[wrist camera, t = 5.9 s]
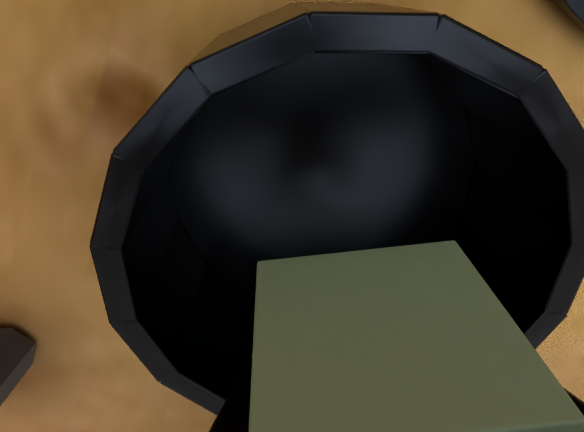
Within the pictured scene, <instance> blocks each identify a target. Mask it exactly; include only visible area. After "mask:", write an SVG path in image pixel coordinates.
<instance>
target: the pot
mask: <svg viewBox="0 0 584 432" xmlns="http://www.w3.org/2000/svg"><path fill="white" fill-rule="evenodd" d="M451 240H454V241H456V243H457V244H458V245H459V247H460V248H461V249H462V251H463V252H464V254H465V255H466V256H467V258H468V259H469V260H470V262H471V263H472V264H473V266H474V267H475V269H476V270H477V271H478V273H479V274H480V275H481V277H482V278H483V279H484V281H485V282H486V283H487V285H488V286H489V288H490V289H491V290H492V292H493V293H494V294H495V296H496V297H497V298H498V300H499V301H500V303H501V304H502V305H503V307H504V308H505V309H506V311H507V312H508V313H509V315H510V316H511V318H512V319H513V320H514V322H515V323H516V324H517V326H518V327H519V328H520V330H521V331H522V333H523V334H524V335H525V337H526V338H527V339H528V341H529V342H530V343H531V345H532V346H533V347H534V349H536V348H537V347H538V346H539V345H540V344H541V343H542V342H543V341H544V340H545V339H546V337H547V336H548V335H549V334H550V333H551V332H552V331H553V330H554V329H555V328H556V327H557V326H558V325H559V324H560V323H561V322H562V321H563V320H564V319H565V318H566V317H567V313H568V312H569V309H570V307H571V305H572V303H573V300H574V298H575V296H576V293H577V291H578V289H579V287H580V284H581V282H582V280H583V277H584V129H583V127H582V125H581V124H580V122H579V121H578V119H577V117H576V116H575V114H574V113H573V111H572V109H571V108H570V106H569V105H568V103H567V101H566V100H565V98H564V97H563V95H562V93H561V92H560V90H559V89H558V87H557V85H556V84H555V82H554V81H553V79H552V77H551V76H550V74H549V73H548V71H547V70H546V69H544V68H543V67H542V66H541V65H540V64H538V63H536V62H534V61H532V60H530V59H528V58H526V57H525V56H523V55H521V54H519V53H517V52H515V51H513V50H511V49H509V48H507V47H505V46H504V45H502V44H500V43H498V42H496V41H494V40H492V39H490V38H488V37H486V36H485V35H483V34H481V33H479V32H477V31H475V30H473V29H471V28H469V27H467V26H466V25H464V24H462V23H460V22H458V21H456V20H454V19H452V18H450V17H448V16H447V15H445V14H439V13H437V12H430V11H423V10H416V9H410V8H403V7H396V6H389V5H382V4H375V3H336V2H329V3H320V2H296V3H291V4H288V5H286V6H284V7H282V8H280V9H277V10H275V11H273V12H271V13H268V14H266V15H264V16H261V17H258V18H256V19H254V20H252V21H250V22H248V23H246V24H244V25H242V26H239V27H237V28H235V29H233V30H230V31H228V32H226V33H224V34H221V35H220V36H219V37H217V38H216V39H215V40H214V41H212V42H211V43H210V44H209V45H208V46H207V47H206V48H205V49H204V50H203V51H202V52H201V53H199V54H198V55H197V56H196V57H195V58H194V59H193V60H192V61H191V62H190V63H189V64H187V65H186V66H185V67H184V69H183V70H182V71H181V72H180V73H179V74H178V75H177V77H176V78H175V79H174V80H173V81H172V82H171V84H170V85H169V86H168V87H167V88H166V89H165V90H164V92H163V93H162V94H161V95H160V96H159V97H158V99H157V100H156V101H155V102H154V103H153V104H152V105H151V107H150V108H149V109H148V110H147V111H146V112H145V114H144V115H143V116H142V117H141V118H140V119H139V120H138V122H137V123H136V124H135V125H134V126H133V127H132V129H131V130H130V131H129V132H128V133H127V134H126V136H125V137H124V138H123V139H122V140H121V141H120V142H119V144H118V145H117V146H116V147H115V148H114V149H113V153H112V154H111V157H110V161H109V165H108V170H107V174H106V178H105V182H104V186H103V190H102V195H101V199H100V203H99V207H98V211H97V215H96V220H95V224H94V228H93V232H92V236H91V240H90V250H91V254H92V258H93V261H94V265H95V269H96V273H97V277H98V281H99V285H100V288H101V292H102V296H103V300H104V304H105V308H106V311H107V315H108V319H109V323H110V324H111V325H112V327H113V328H114V329H115V331H116V332H117V333H118V334H119V335H120V337H121V338H122V339H123V340H124V342H125V343H126V344H127V345H128V346H129V348H130V349H131V350H132V351H133V352H134V354H135V355H136V356H137V357H138V358H139V360H140V361H141V362H142V363H143V364H144V366H145V367H146V368H147V369H148V370H149V372H150V373H151V374H152V375H153V376H154V378H155V379H156V380H157V381H158V382H160V383H161V384H162V385H164V386H166V387H168V388H169V389H171V390H173V391H175V392H176V393H178V394H180V395H182V396H184V397H185V398H187V399H189V400H191V401H192V402H194V403H196V404H198V405H199V406H201V407H203V408H205V409H206V410H208V411H210V412H212V413H213V414H215V415H217V416H218V414H219V412H220V410H221V408H222V406H223V405H224V403H225V401H226V399H227V397H228V395H229V393H230V392H231V390H232V388H233V386H234V384H235V382H236V381H237V379H238V377H239V375H240V373H241V371H242V370H243V368H244V366H245V364H246V362H247V360H248V359H249V357H250V356H251V355H253V335H254V315H255V295H256V274H257V262H259V261H265V260H275V259H284V258H293V257H303V256H312V255H321V254H330V253H340V252H349V251H358V250H368V249H377V248H386V247H395V246H405V245H414V244H423V243H433V242H442V241H451Z"/></svg>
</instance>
